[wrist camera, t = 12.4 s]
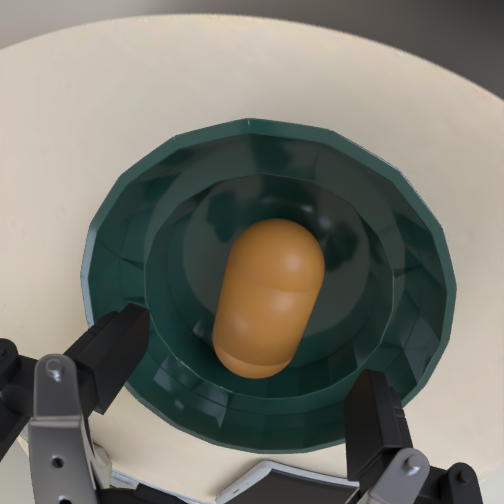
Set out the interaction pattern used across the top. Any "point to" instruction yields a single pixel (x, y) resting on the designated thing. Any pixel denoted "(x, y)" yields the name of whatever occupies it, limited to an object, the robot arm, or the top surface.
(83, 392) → the robot arm
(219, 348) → the bread roll
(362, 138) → the top surface
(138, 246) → the green round bowl
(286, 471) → the smartphone
